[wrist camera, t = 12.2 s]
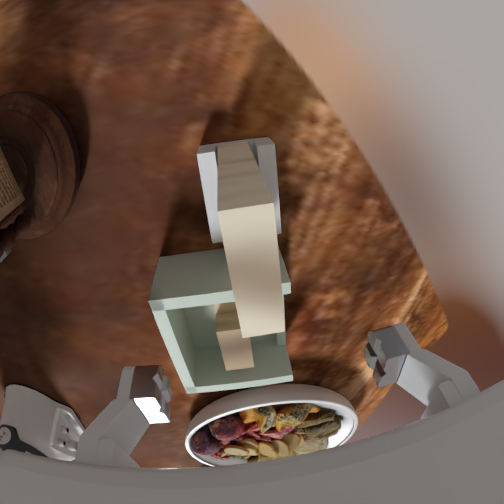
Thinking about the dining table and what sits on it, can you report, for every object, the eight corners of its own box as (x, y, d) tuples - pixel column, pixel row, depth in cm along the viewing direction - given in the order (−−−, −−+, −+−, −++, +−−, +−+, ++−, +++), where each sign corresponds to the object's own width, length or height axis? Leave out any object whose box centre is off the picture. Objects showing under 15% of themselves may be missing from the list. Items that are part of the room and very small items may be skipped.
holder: (275, 218, 31) (281, 233, 28) (212, 226, 31) (212, 243, 28) (268, 136, 27) (274, 144, 24) (199, 145, 26) (196, 154, 24)
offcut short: (252, 349, 34) (254, 367, 32) (225, 353, 34) (226, 370, 32) (245, 310, 31) (248, 327, 29) (215, 314, 31) (216, 332, 29)
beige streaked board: (258, 224, 30) (285, 331, 18) (231, 228, 30) (242, 338, 18) (247, 141, 26) (273, 202, 14) (217, 145, 26) (217, 211, 14)
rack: (282, 337, 39) (293, 380, 33) (189, 349, 39) (187, 393, 33) (276, 240, 32) (290, 282, 26) (159, 257, 32) (148, 300, 26)
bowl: (381, 377, 48) (397, 413, 42) (306, 452, 62) (312, 481, 55) (206, 361, 41) (206, 409, 34) (174, 445, 55) (174, 478, 48)
